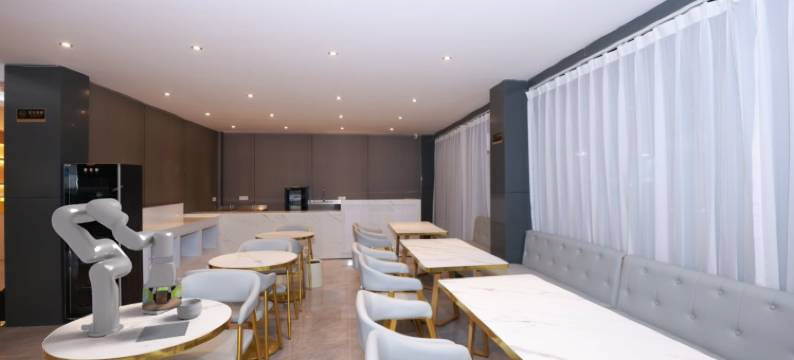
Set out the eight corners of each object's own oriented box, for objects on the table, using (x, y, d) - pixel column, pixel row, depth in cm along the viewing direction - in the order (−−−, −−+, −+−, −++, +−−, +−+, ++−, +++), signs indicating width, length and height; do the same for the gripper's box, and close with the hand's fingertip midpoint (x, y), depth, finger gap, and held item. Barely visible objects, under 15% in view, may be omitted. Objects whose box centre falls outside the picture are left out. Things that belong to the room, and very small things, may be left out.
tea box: (157, 315, 195) (157, 285, 195) (142, 313, 198) (141, 284, 198) (182, 305, 209) (182, 278, 209) (167, 304, 212) (167, 276, 212)
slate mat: (135, 343, 162) (135, 342, 162) (145, 328, 178) (145, 326, 178) (184, 336, 168) (184, 335, 168) (189, 322, 185) (189, 321, 185)
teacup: (191, 322, 185) (191, 305, 185) (171, 321, 187) (170, 304, 187) (210, 312, 198) (210, 296, 198) (192, 311, 200) (191, 295, 200)
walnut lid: (138, 313, 164) (138, 298, 163) (146, 301, 177) (146, 288, 177) (179, 309, 169) (179, 295, 169) (183, 298, 183) (183, 285, 183)
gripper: (138, 262, 166) (137, 306, 167) (183, 260, 173) (182, 302, 173) (142, 259, 173) (141, 300, 174) (185, 257, 180) (184, 297, 180)
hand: (162, 301), depth 173 cm, fingers closed on walnut lid, 4 cm apart
